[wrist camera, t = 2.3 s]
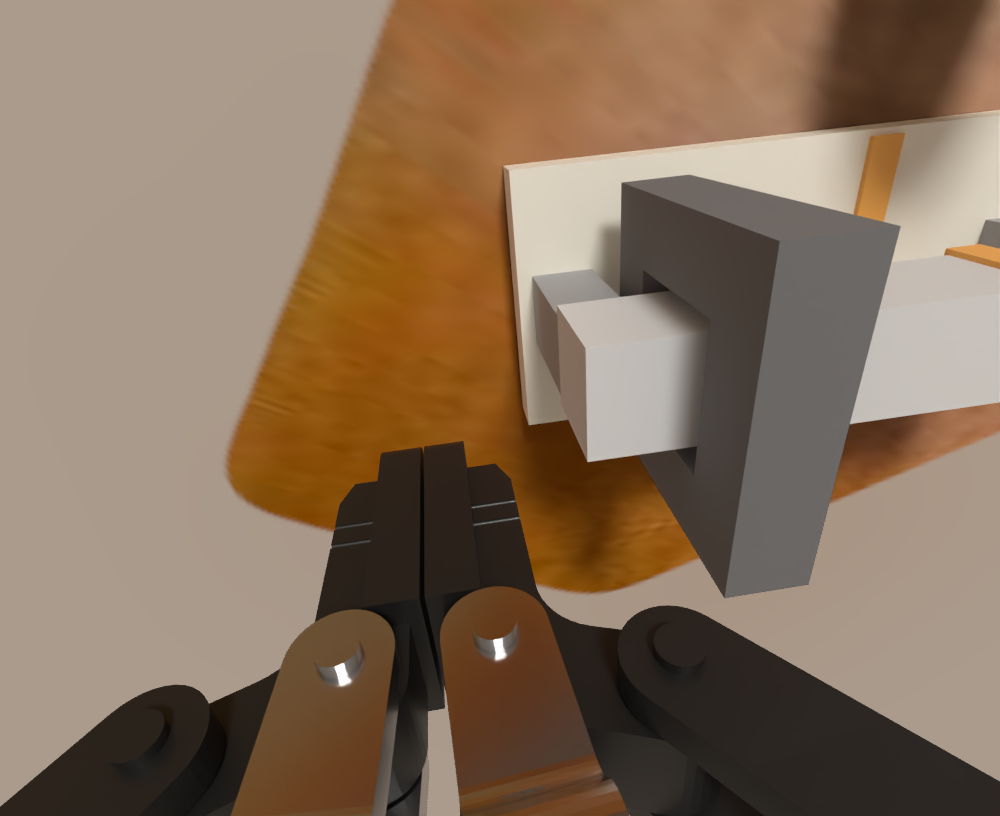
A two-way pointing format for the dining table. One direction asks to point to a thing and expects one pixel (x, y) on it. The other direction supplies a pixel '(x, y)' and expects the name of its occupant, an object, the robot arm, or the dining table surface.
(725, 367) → the collar
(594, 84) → the dining table surface
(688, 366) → the white bar stand
